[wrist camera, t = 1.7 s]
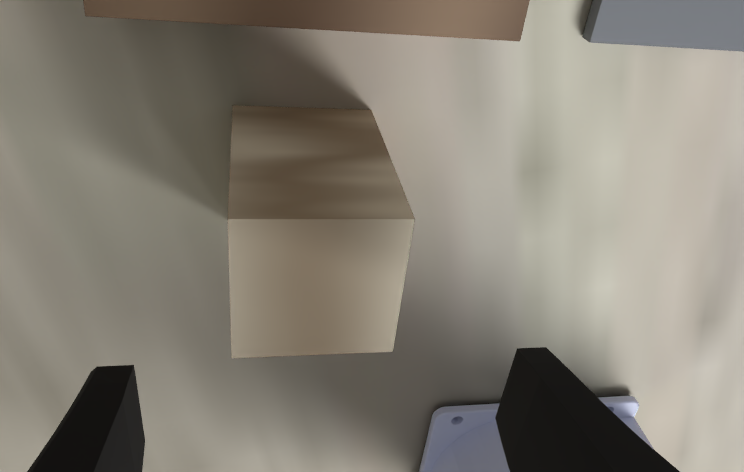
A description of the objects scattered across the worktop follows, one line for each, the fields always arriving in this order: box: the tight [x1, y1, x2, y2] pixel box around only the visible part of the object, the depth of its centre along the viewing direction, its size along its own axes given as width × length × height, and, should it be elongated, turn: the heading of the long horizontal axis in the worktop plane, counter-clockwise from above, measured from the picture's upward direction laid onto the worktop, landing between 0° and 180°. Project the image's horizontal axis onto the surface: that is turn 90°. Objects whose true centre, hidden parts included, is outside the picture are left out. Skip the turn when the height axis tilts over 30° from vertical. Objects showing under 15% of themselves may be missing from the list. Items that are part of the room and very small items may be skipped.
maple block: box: [228, 105, 415, 358], centre depth 17 cm, size 4×4×6 cm
